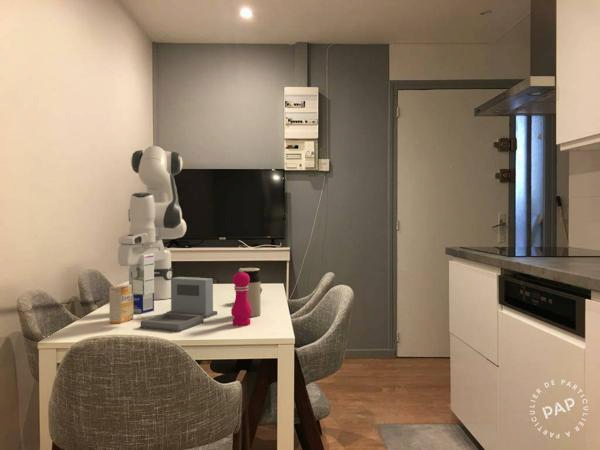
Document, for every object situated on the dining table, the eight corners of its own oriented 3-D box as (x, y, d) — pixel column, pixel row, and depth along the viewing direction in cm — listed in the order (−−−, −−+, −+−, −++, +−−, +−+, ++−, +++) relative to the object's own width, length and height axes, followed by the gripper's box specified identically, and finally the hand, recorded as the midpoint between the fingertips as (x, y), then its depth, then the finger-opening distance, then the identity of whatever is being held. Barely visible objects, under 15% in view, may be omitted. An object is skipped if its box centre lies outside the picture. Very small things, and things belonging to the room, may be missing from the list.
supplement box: (121, 323, 156) (120, 287, 156) (109, 323, 157) (108, 287, 157) (134, 318, 164) (133, 284, 164) (122, 318, 165) (122, 283, 165)
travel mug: (252, 318, 164) (251, 270, 163) (235, 316, 168) (235, 269, 168) (264, 314, 170) (264, 268, 170) (248, 312, 175) (248, 267, 174)
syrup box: (154, 292, 159) (154, 253, 159) (143, 295, 153) (143, 254, 153) (142, 292, 161) (142, 252, 161) (130, 294, 155) (130, 254, 155)
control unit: (166, 315, 170) (166, 278, 170) (179, 311, 178) (179, 276, 178) (205, 318, 164) (205, 280, 164) (217, 314, 171) (217, 278, 171)
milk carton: (154, 310, 179) (154, 262, 179) (142, 313, 173) (141, 263, 173) (141, 309, 182) (140, 261, 182) (128, 312, 176) (128, 262, 176)
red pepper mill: (232, 322, 158) (231, 266, 158) (252, 321, 159) (251, 266, 158) (230, 326, 151) (230, 269, 151) (251, 326, 151) (251, 268, 151)
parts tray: (140, 327, 150) (140, 320, 150) (167, 319, 163) (167, 312, 163) (179, 332, 144) (179, 324, 144) (203, 322, 157) (203, 315, 157)
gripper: (155, 235, 167) (155, 271, 168) (114, 239, 148) (114, 279, 149) (168, 236, 165) (168, 272, 166) (128, 239, 146) (129, 280, 147)
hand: (143, 275), depth 157 cm, fingers closed on syrup box, 6 cm apart
